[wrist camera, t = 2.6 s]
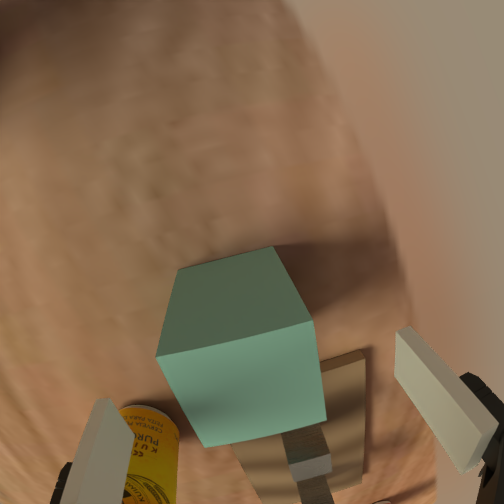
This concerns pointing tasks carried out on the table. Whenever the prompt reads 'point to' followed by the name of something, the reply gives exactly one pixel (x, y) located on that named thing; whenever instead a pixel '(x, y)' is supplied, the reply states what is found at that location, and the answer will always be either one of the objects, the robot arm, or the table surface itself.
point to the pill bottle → (383, 502)
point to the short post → (307, 452)
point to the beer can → (151, 457)
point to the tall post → (315, 491)
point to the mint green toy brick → (241, 350)
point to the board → (334, 429)
